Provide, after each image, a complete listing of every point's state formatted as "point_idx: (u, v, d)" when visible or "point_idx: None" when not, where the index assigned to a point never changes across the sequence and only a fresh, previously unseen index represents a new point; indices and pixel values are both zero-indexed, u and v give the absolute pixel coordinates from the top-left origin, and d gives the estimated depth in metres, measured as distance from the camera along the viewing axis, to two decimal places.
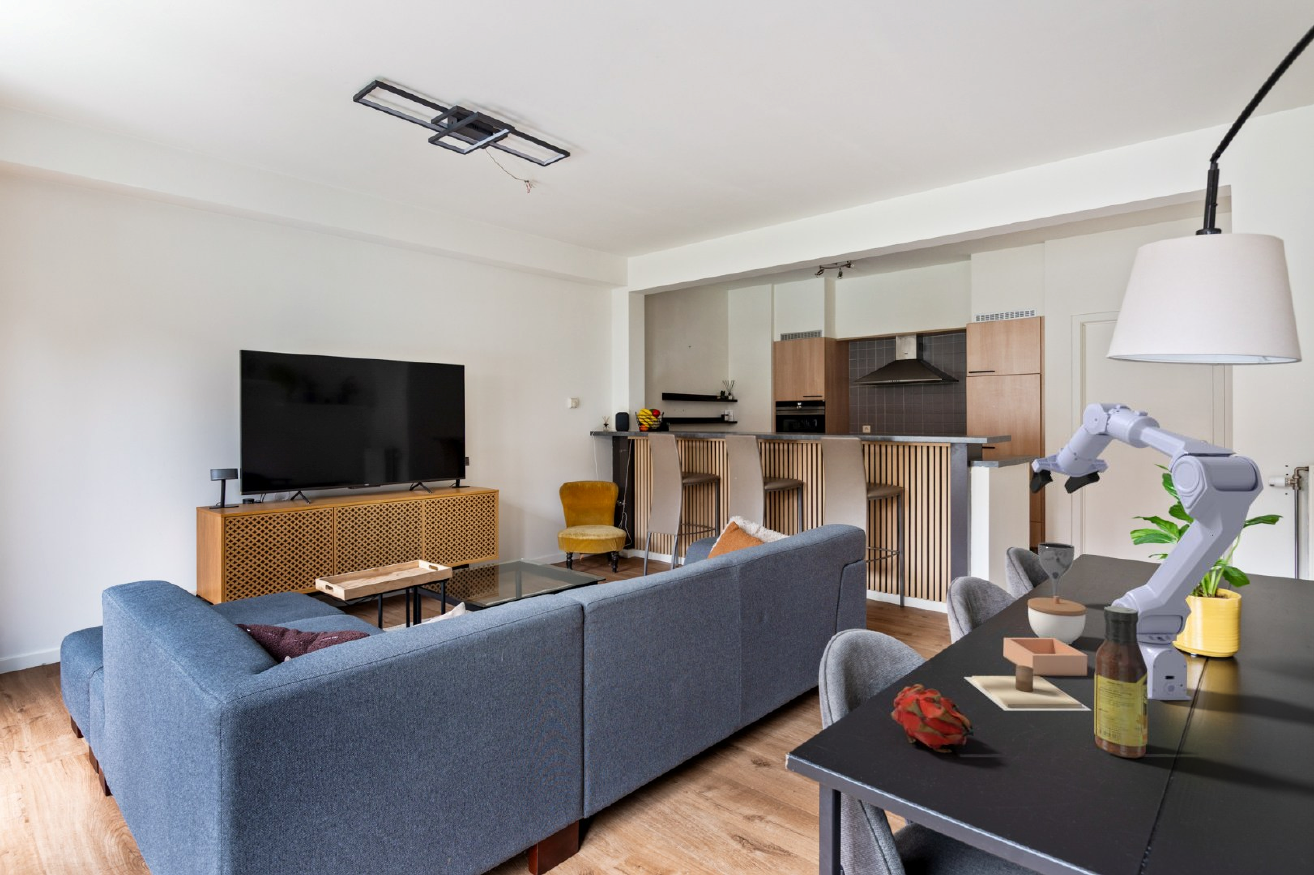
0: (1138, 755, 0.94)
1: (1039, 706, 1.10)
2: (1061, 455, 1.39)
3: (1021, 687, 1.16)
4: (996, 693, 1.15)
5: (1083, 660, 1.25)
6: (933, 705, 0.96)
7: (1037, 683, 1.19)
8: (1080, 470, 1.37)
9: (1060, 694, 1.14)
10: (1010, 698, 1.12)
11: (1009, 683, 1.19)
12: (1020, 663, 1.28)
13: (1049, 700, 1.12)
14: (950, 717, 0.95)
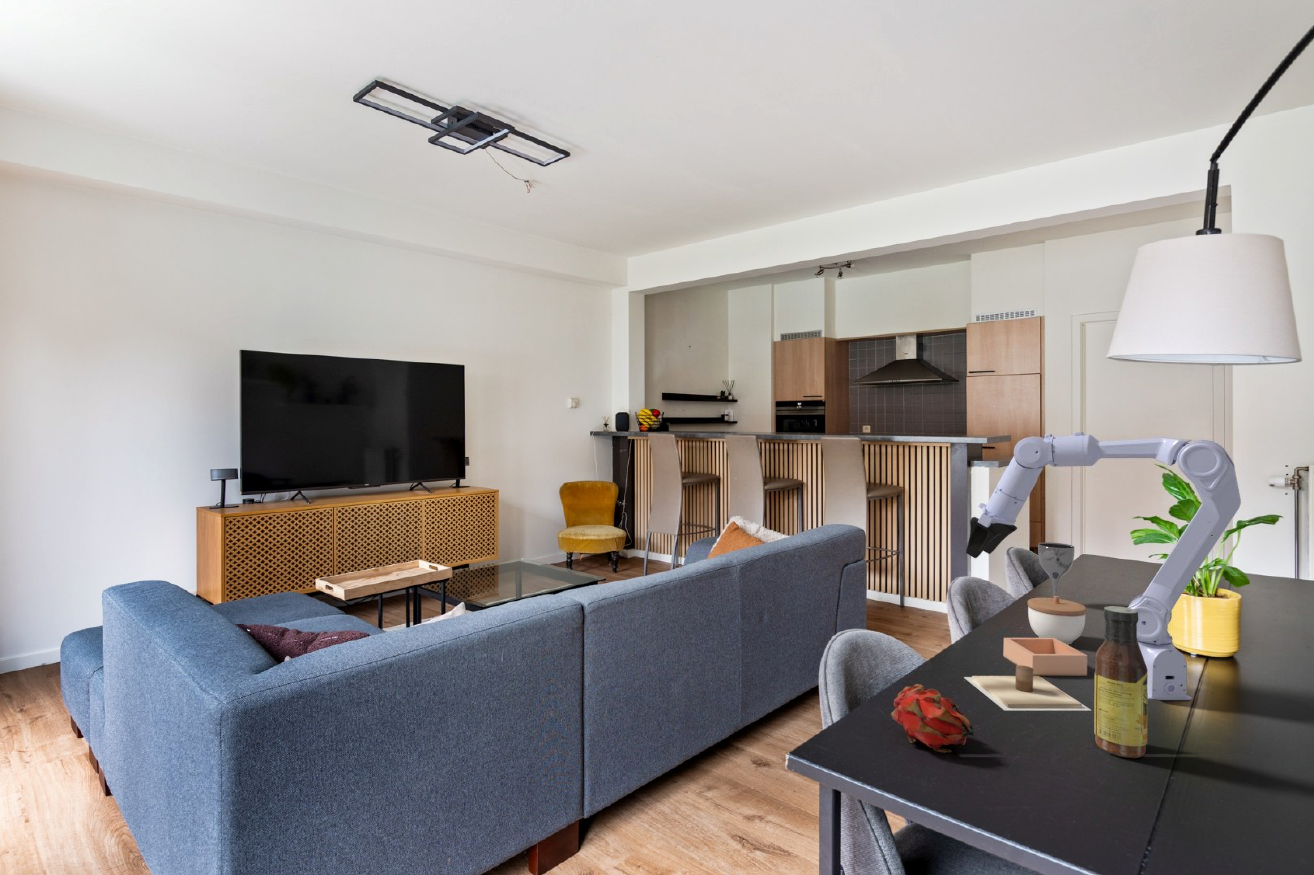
0: (1138, 755, 0.94)
1: (1039, 706, 1.10)
2: (996, 505, 1.33)
3: (1021, 687, 1.16)
4: (996, 693, 1.15)
5: (1083, 660, 1.25)
6: (933, 705, 0.96)
7: (1037, 683, 1.19)
8: (1016, 515, 1.33)
9: (1060, 694, 1.14)
10: (1010, 698, 1.12)
11: (1009, 683, 1.19)
12: (1020, 663, 1.28)
13: (1049, 700, 1.12)
14: (950, 717, 0.95)
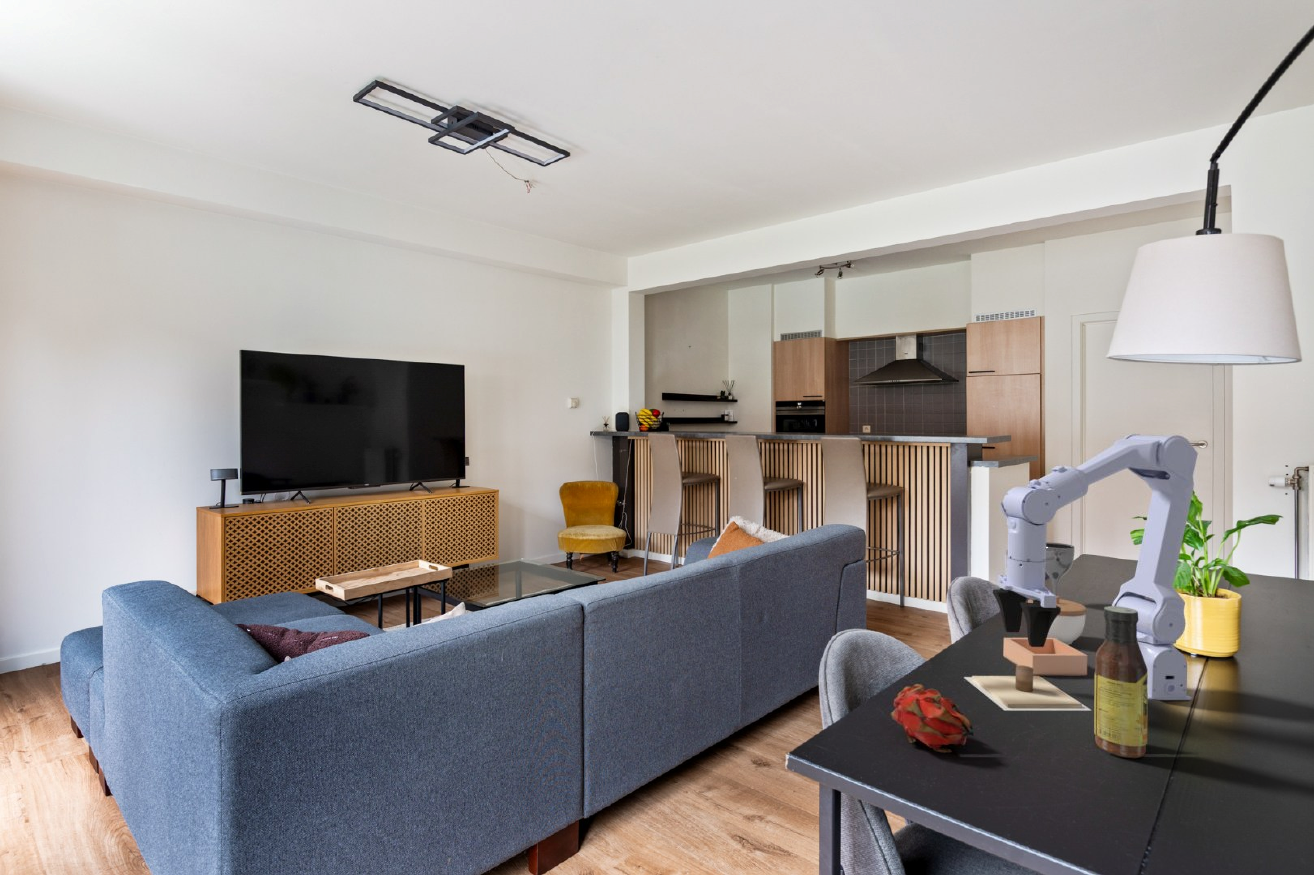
0: (1138, 755, 0.94)
1: (1039, 706, 1.10)
2: (1031, 578, 1.13)
3: (1021, 687, 1.16)
4: (996, 693, 1.15)
5: (1083, 660, 1.25)
6: (933, 705, 0.96)
7: (1037, 683, 1.19)
8: None
9: (1060, 694, 1.14)
10: (1010, 698, 1.12)
11: (1009, 683, 1.19)
12: (1020, 663, 1.28)
13: (1049, 700, 1.12)
14: (950, 717, 0.95)
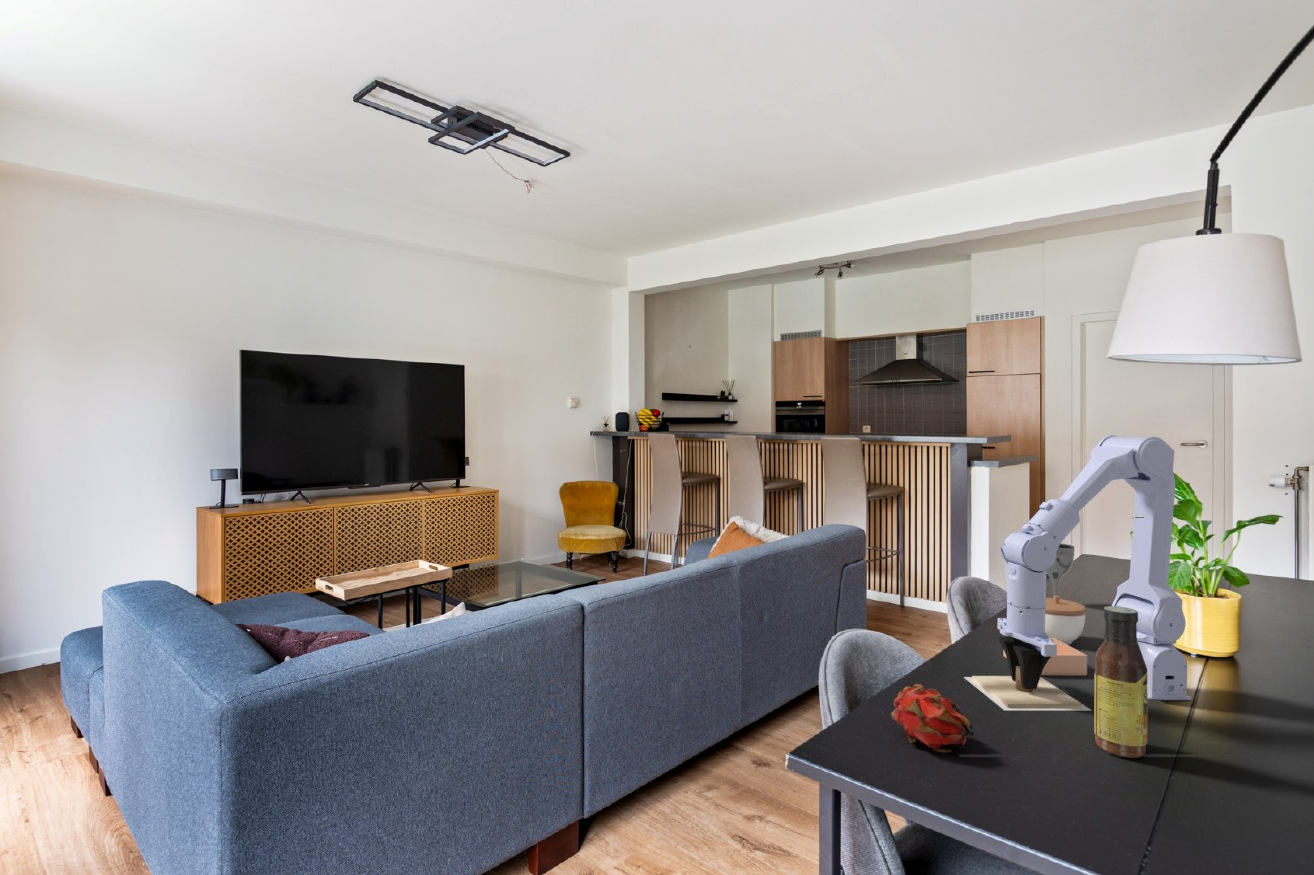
0: (1138, 755, 0.94)
1: (1039, 706, 1.10)
2: (1031, 625, 1.13)
3: (1021, 687, 1.16)
4: (996, 693, 1.15)
5: (1083, 660, 1.25)
6: (933, 705, 0.96)
7: None
8: None
9: (1060, 694, 1.14)
10: (1010, 698, 1.12)
11: (1009, 683, 1.19)
12: None
13: (1049, 700, 1.12)
14: (950, 717, 0.95)
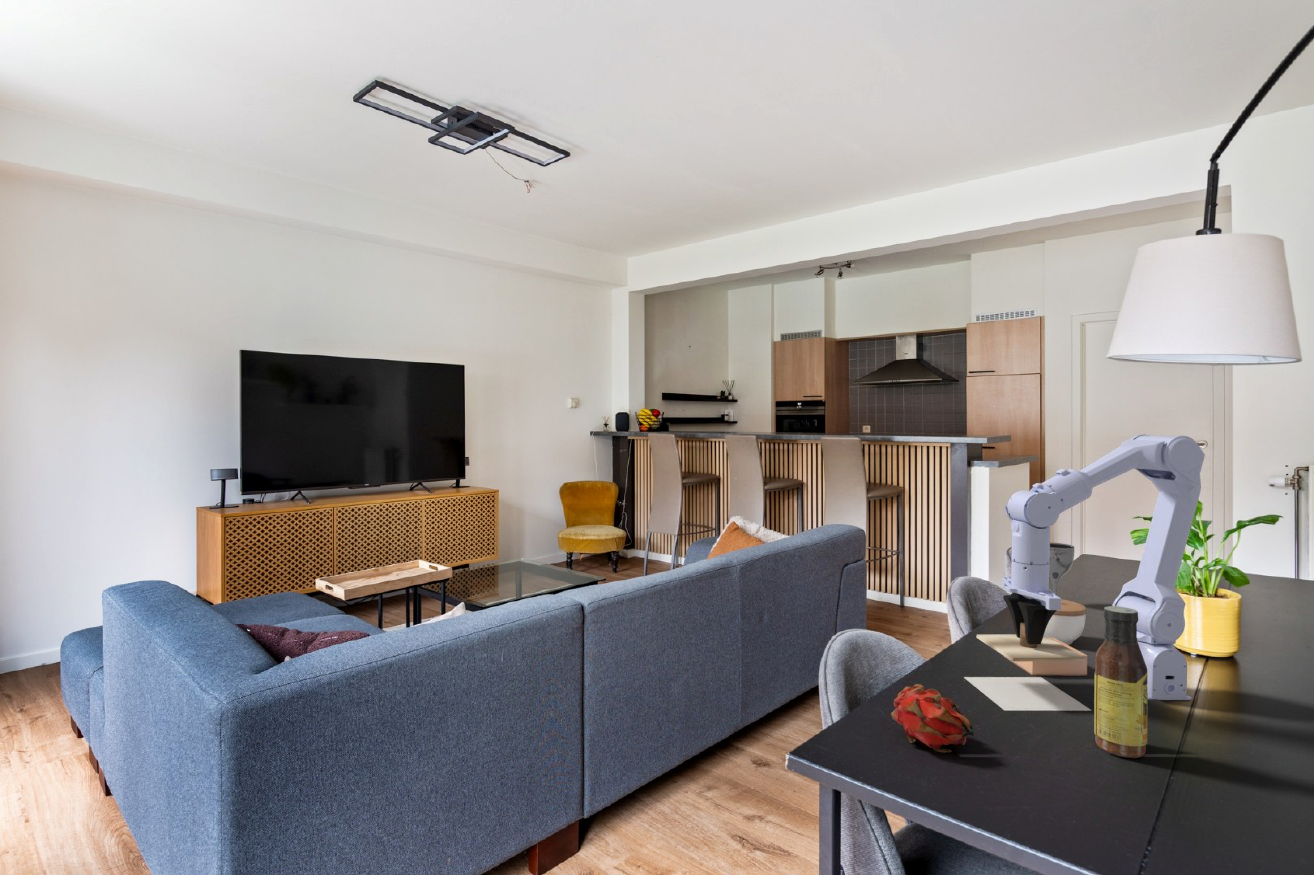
0: (1138, 755, 0.94)
1: (1044, 659, 1.12)
2: (1035, 581, 1.15)
3: (1025, 643, 1.17)
4: (1001, 649, 1.16)
5: None
6: (933, 705, 0.96)
7: None
8: None
9: (1064, 649, 1.16)
10: (1015, 653, 1.14)
11: (1013, 640, 1.20)
12: (1020, 663, 1.28)
13: (1053, 655, 1.13)
14: (950, 717, 0.95)
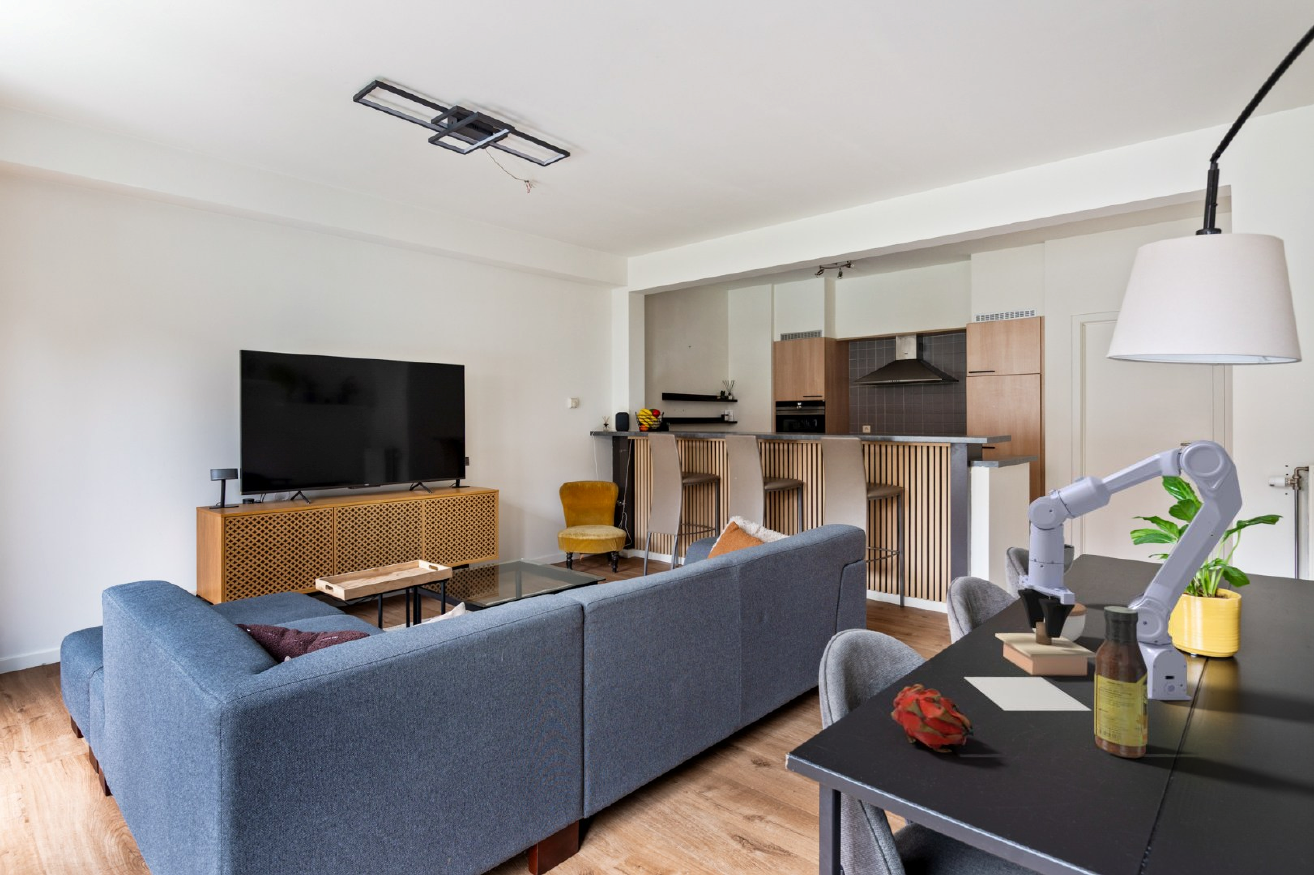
0: (1138, 755, 0.94)
1: (1059, 656, 1.24)
2: (1051, 578, 1.26)
3: (1041, 641, 1.29)
4: (1019, 646, 1.28)
5: (1083, 660, 1.25)
6: (933, 705, 0.96)
7: (1054, 638, 1.32)
8: None
9: (1076, 646, 1.28)
10: (1032, 650, 1.26)
11: (1029, 638, 1.32)
12: (1020, 663, 1.28)
13: (1067, 651, 1.25)
14: (950, 717, 0.95)
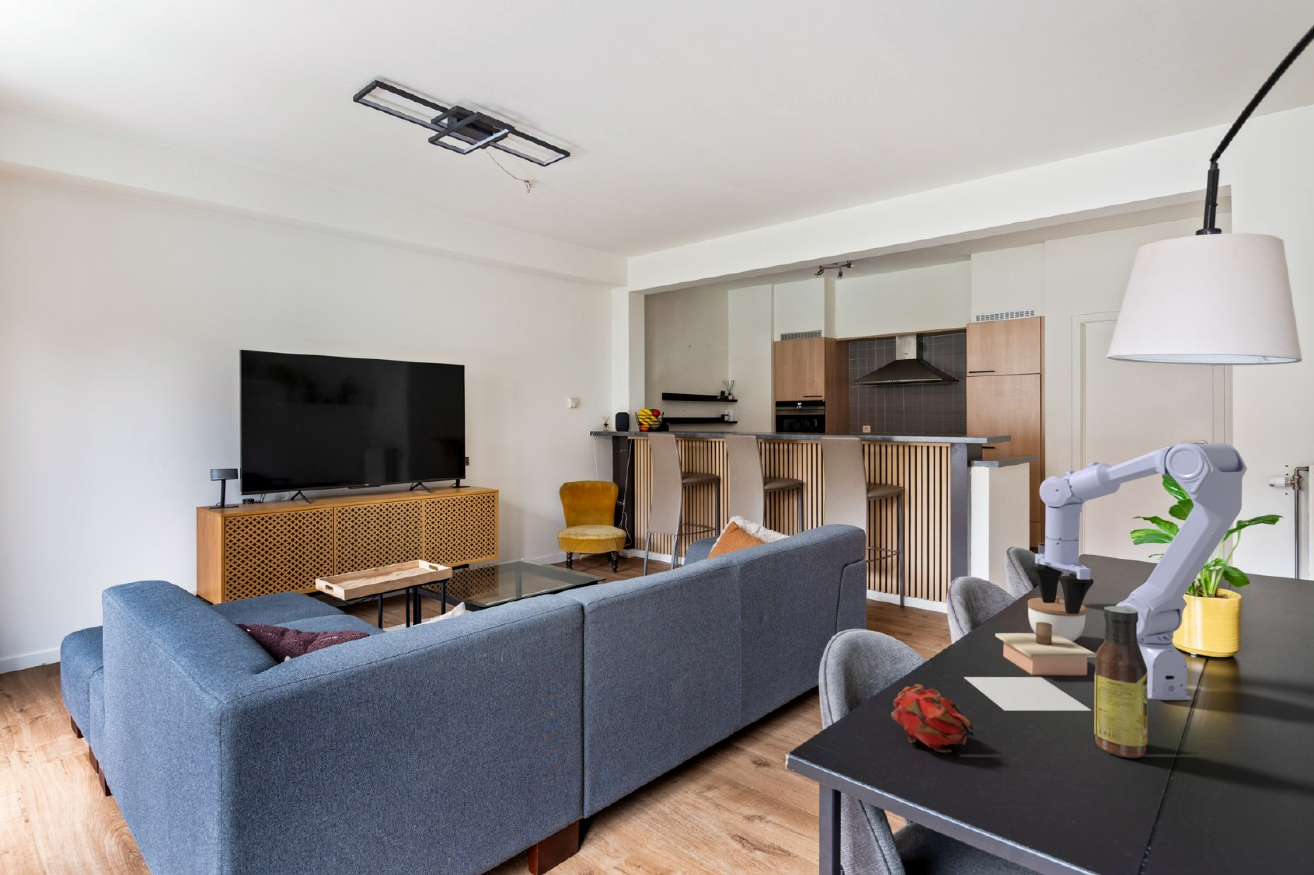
0: (1138, 755, 0.94)
1: (1059, 656, 1.24)
2: (1067, 555, 1.31)
3: (1041, 641, 1.29)
4: (1019, 646, 1.28)
5: (1083, 660, 1.25)
6: (933, 705, 0.96)
7: (1054, 638, 1.32)
8: None
9: (1076, 646, 1.28)
10: (1032, 650, 1.26)
11: (1029, 638, 1.32)
12: (1020, 663, 1.28)
13: (1067, 651, 1.25)
14: (950, 717, 0.95)
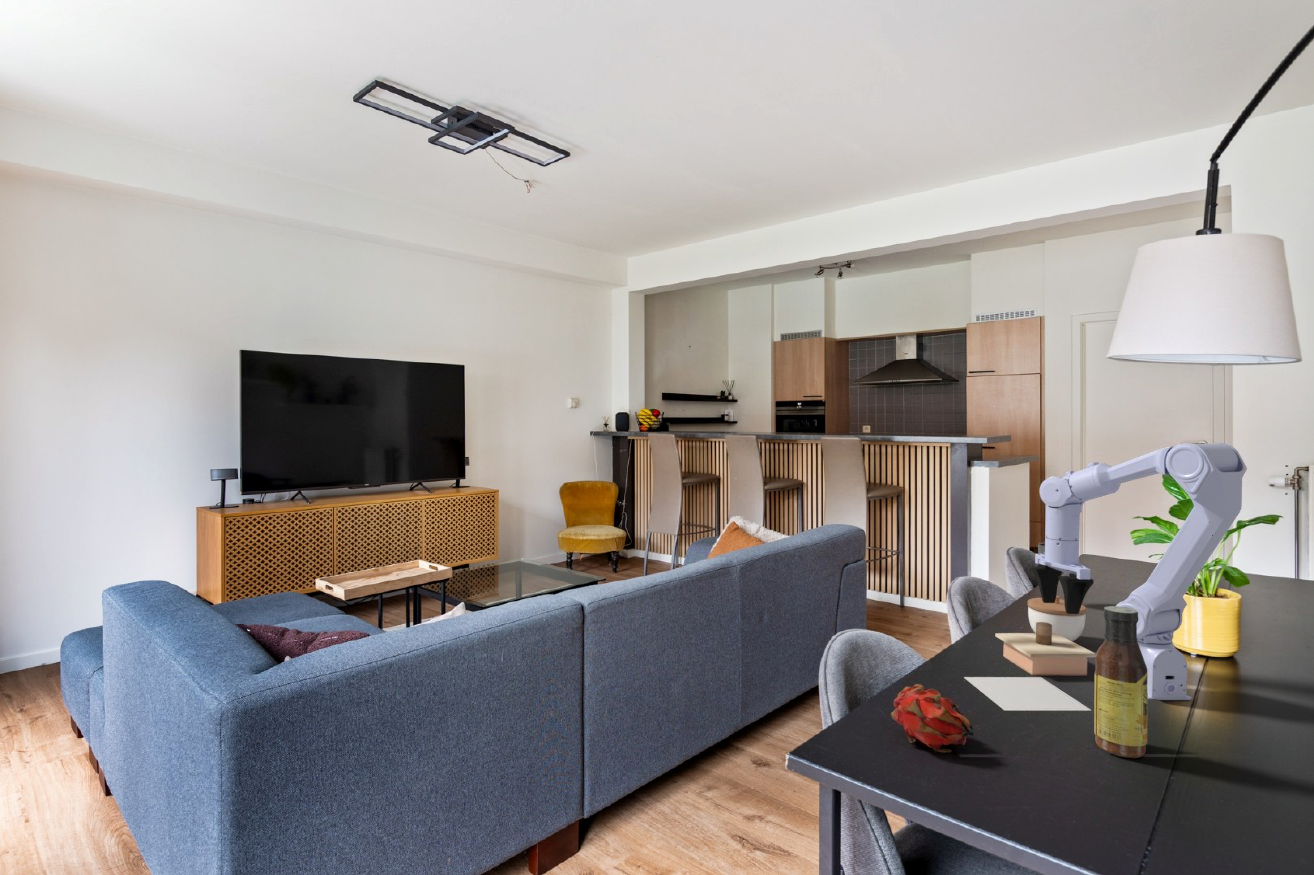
0: (1138, 755, 0.94)
1: (1059, 656, 1.24)
2: (1067, 555, 1.31)
3: (1041, 641, 1.29)
4: (1019, 646, 1.28)
5: (1083, 660, 1.25)
6: (933, 705, 0.96)
7: (1054, 638, 1.32)
8: None
9: (1076, 646, 1.28)
10: (1032, 650, 1.26)
11: (1029, 638, 1.32)
12: (1020, 663, 1.28)
13: (1067, 651, 1.25)
14: (950, 717, 0.95)
